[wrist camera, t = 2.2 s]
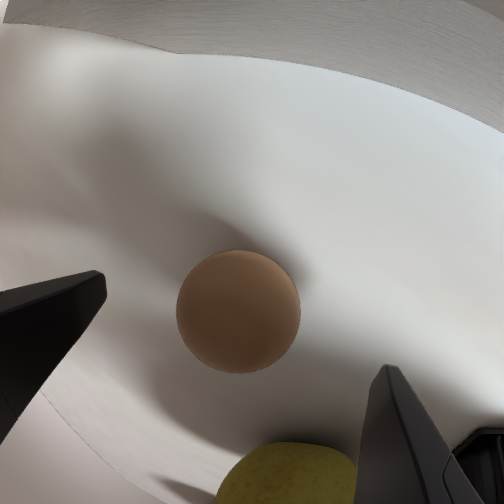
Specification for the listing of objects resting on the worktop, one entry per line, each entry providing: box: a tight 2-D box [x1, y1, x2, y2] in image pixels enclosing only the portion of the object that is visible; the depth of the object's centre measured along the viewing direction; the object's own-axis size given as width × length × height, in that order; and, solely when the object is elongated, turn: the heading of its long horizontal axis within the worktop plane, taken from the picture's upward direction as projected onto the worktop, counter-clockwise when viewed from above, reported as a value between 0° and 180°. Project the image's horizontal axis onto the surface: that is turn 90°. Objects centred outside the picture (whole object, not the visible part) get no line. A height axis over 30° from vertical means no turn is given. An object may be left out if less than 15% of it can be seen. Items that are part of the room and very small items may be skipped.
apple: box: [215, 442, 358, 504], centre depth 12 cm, size 8×8×7 cm
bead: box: [176, 250, 301, 373], centre depth 9 cm, size 4×4×4 cm
